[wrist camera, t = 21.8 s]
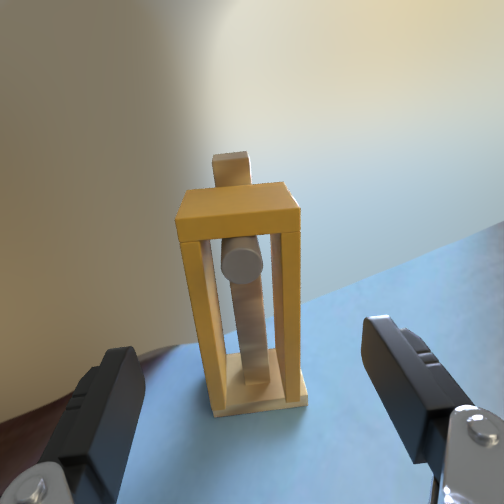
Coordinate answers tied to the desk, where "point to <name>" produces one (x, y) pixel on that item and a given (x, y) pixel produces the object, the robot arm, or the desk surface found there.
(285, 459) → the desk surface
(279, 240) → the yellow goalpost frame
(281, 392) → the rack
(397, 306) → the desk surface
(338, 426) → the desk surface
